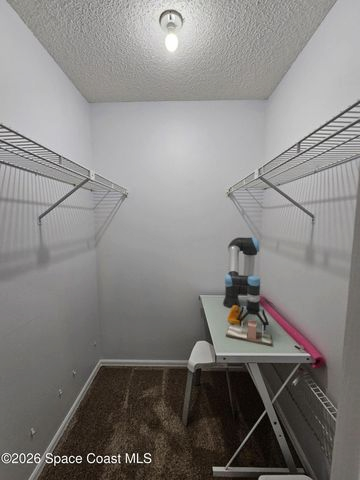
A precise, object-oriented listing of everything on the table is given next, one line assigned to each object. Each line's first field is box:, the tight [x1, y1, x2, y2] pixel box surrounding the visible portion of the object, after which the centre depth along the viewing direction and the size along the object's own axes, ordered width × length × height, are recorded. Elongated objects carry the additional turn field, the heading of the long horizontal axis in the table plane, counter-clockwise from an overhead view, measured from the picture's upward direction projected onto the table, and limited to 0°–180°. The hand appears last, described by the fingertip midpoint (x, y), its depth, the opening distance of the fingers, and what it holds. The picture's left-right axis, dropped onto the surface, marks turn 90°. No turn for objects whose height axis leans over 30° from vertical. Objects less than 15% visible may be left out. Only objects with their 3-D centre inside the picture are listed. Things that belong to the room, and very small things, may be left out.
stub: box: [247, 319, 258, 339], centre depth 133 cm, size 9×5×8 cm, turn 158°
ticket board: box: [225, 326, 274, 347], centre depth 134 cm, size 12×28×2 cm, turn 68°
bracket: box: [227, 305, 246, 326], centre depth 154 cm, size 11×7×12 cm, turn 94°
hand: (252, 332), depth 133 cm, fingers open, 12 cm apart
